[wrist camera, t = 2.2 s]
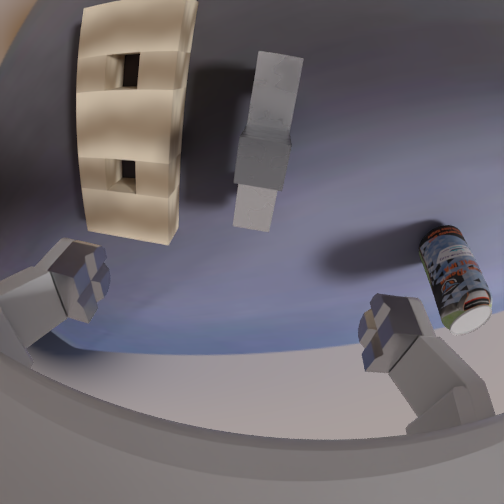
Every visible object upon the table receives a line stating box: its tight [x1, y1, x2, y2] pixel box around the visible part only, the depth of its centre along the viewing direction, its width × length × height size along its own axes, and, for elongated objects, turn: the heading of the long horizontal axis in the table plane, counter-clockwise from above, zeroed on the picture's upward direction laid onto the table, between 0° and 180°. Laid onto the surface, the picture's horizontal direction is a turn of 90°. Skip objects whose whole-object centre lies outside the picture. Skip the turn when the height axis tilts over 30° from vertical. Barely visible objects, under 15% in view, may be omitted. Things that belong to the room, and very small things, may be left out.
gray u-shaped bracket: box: [233, 51, 303, 232], centre depth 21 cm, size 14×3×10 cm, turn 172°
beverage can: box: [419, 225, 492, 335], centre depth 25 cm, size 6×7×12 cm
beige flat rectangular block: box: [76, 0, 198, 245], centre depth 23 cm, size 24×10×4 cm, turn 172°
